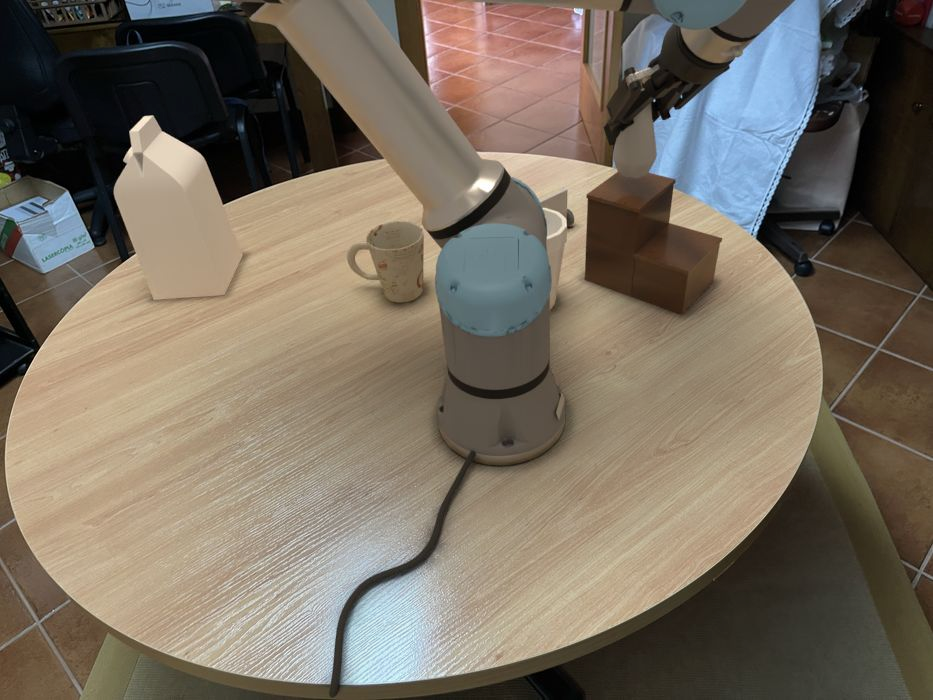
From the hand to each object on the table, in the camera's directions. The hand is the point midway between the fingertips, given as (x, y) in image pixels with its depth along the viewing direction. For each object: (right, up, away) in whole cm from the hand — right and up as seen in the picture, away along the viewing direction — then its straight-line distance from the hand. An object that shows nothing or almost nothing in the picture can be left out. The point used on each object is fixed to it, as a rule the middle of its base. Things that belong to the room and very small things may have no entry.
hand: (620, 133), depth 96 cm
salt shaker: (+2, -6, 0) cm, 6 cm away
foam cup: (-11, -23, +6) cm, 27 cm away
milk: (-66, -18, +19) cm, 71 cm away
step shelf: (+6, -20, +8) cm, 22 cm away
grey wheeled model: (-13, -8, +25) cm, 29 cm away
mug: (-33, -21, +11) cm, 41 cm away
